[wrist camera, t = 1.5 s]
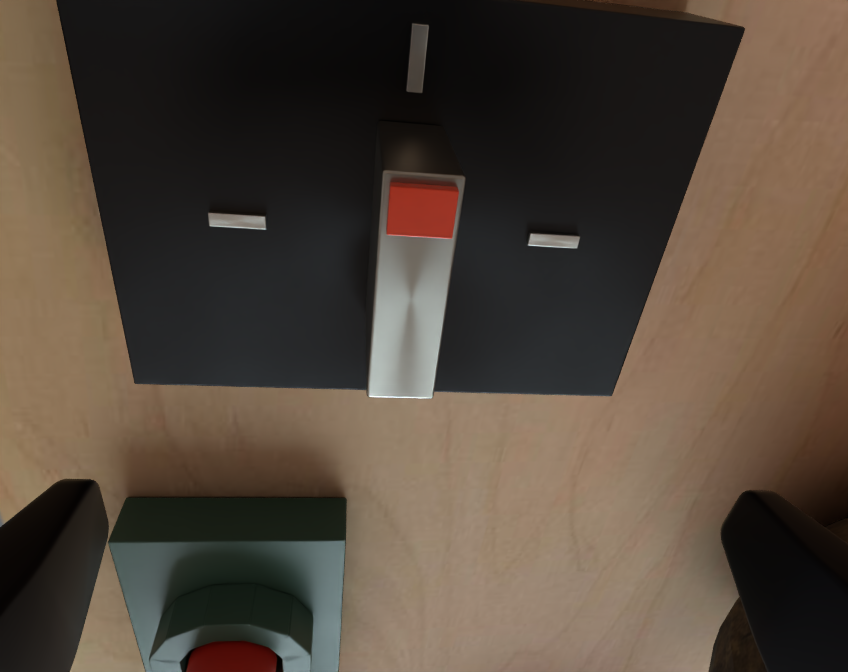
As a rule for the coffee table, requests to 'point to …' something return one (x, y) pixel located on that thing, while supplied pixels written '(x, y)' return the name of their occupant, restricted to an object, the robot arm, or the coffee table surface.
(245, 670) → the power button
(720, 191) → the coffee table surface
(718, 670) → the bowl
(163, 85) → the panel
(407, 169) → the stove knob
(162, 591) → the block
